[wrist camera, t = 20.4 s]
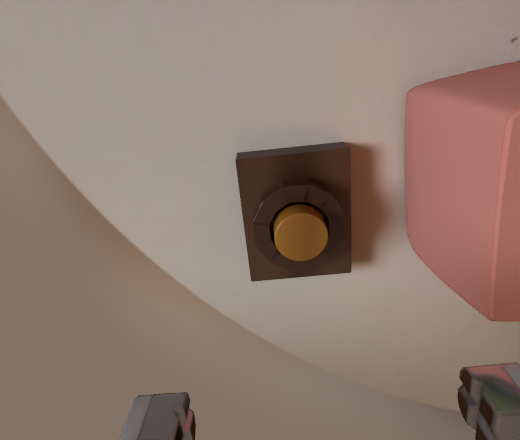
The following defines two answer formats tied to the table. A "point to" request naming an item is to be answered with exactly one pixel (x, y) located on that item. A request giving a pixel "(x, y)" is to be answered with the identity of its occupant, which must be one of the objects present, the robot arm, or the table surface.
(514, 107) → the teapot
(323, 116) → the table surface
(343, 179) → the button block
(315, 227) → the button
